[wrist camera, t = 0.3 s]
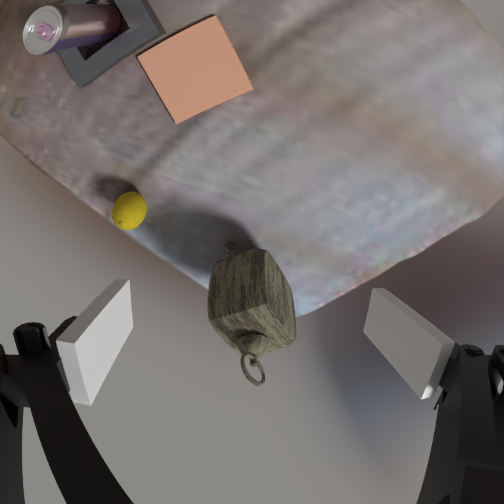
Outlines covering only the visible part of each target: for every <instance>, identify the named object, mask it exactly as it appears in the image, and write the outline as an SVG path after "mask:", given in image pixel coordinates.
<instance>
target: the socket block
mask: <svg viewBox="0 0 504 504" xmlns="http://www.w3.org/2000/svg"><path fill="white" fill-rule="evenodd" d="M99 1H100V0H65V1H64V2H63V3H62V4H64V3H70V4H96V3H97V2H99ZM114 1H115V3H116V5H117V7H118V8H119V10H120V12H121V13H122V15H123V17H124V19H125V20H126V22H127V24H128V25H129V27H130V29H128V30H127V31H125V32H124V33H122V34H121V35H119V36H118V37H116V38H115V39H114V40H112V41H111V42H109V43H108V44H107V45H105V46H104V47H103V48H101V49H100V50H99V51H97V52H96V53H95V54H93V55H92V53H91V51H90V50H89V48H88V46H87V45H83V46H79V47H74V48H69V49H65V50H61V51H58V53H59V55H60V57H61V58H62V60H63V62H64V64H65V65H66V67H67V69H68V70H69V72H70V74H71V75H72V77H73V79H74V81H75V82H76V84H77V86H78V87H79V89H80V88H82V87H84V86H87V85H89V84H90V83H92V82H93V81H94V80H95V79H97V78H98V77H99V76H101V75H102V74H103V73H105V72H106V71H107V70H109V69H110V68H112V67H113V66H114V65H116V64H117V63H119V62H120V61H122V60H123V59H125V58H126V57H128V56H129V55H131V54H132V53H134V52H135V51H137V50H138V49H140V48H142V47H143V46H145V45H147V44H148V43H150V42H152V41H153V40H155V39H157V38H158V37H160V36H162V35H164V34H165V33H166V32H165V30H164V28H163V27H162V25H161V23H160V22H159V20H158V18H157V16H156V15H155V13H154V11H153V9H152V8H151V6H150V4H149V3H148V1H147V0H114Z"/></svg>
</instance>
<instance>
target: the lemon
mask: <svg viewBox="0 0 504 504" xmlns="http://www.w3.org/2000/svg"><path fill="white" fill-rule="evenodd" d="M146 212H147V203H146V200H145V199H144V197H143V196H142V195H141V194H139V193H137V192H133V191H131V192H126V193H124V194H122V195H121V196H120V197H119V198H118V199H117V201H116V202H115V204H114V207H113V211H112V218H113V221H114V223H115V224H116V225H117V226H118V227H119V228H121V229H123V230H132V229H134V228H136V227H137V226H139V225H140V224H141V223H142V221H143V220H144V218H145V216H146Z"/></svg>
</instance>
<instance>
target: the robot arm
mask: <svg viewBox="0 0 504 504" xmlns="http://www.w3.org/2000/svg"><path fill="white" fill-rule="evenodd" d="M132 328H133V321H132V309H131V296H130V281H129V279H115V280H114V281H113V282H112V283H111V284H110V285H109V286H108V287H107V288H106V289H105V290H104V291H103V292H102V293H101V294H100V295H99V296H98V297H97V298H96V299H95V300H94V301H93V302H92V303H91V304H90V305H89V306H88V307H87V308H86V309H85V310H84V311H83V312H82V313H81V314H80V315H79V316H78V317H76V316H73V317H71V318H69V319H67V320H65V321H64V322H63V323H62V324H61V325H60V326H59V327H58V328H57V329H56V330H55V332H53V333H52V334H51V335H50V336H49V337H48V335H47V331H46V327H45V326H44V325H43V324H41V323H36V322H32V323H25V324H22V325H20V326H18V327H17V328H16V329H15V330H14V332H13V335H14V339H15V343H16V346H17V350H18V353H19V355H6V354H5V351H4V349H3V346H2V345H1V344H0V504H25V500H24V490H23V475H22V425H23V409H24V407H30V408H31V412H32V416H33V419H34V423H35V426H36V429H37V432H38V436H39V439H40V441H41V444H42V447H43V450H44V452H45V455H46V458H47V461H48V463H49V466H50V468H51V471H52V473H53V475H54V478H55V480H56V482H57V484H58V487H59V489H60V491H61V493H62V495H63V497H64V499H65V501H66V503H67V504H134V503H133V502H132V501H131V500H130V498H129V497H128V496H127V494H126V493H125V492H124V490H123V489H122V487H121V486H120V485H119V483H118V482H117V480H116V479H115V477H114V476H113V474H112V473H111V471H110V469H109V468H108V466H107V465H106V463H105V462H104V460H103V458H102V457H101V455H100V453H99V452H98V450H97V448H96V447H95V445H94V443H93V441H92V439H91V438H90V436H89V434H88V432H87V430H86V428H85V426H84V424H83V422H82V420H81V418H80V417H79V414H78V412H77V410H76V408H75V406H74V404H73V402H76V403H80V404H85V405H89V406H91V405H92V403H93V401H94V399H95V397H96V395H97V393H98V391H99V389H100V387H101V385H102V383H103V381H104V379H105V377H106V375H107V374H108V372H109V370H110V368H111V366H112V364H113V362H114V360H115V359H116V357H117V355H118V353H119V351H120V350H121V348H122V346H123V344H124V342H125V340H126V339H127V337H128V335H129V333H130V332H131V330H132ZM364 333H365V334H366V335H367V337H368V338H369V339H370V340H371V341H372V342H373V343H374V345H375V346H376V347H377V348H378V349H379V350H380V352H381V353H382V354H383V355H384V356H385V357H386V359H387V360H388V361H389V362H390V363H391V364H392V366H393V367H394V368H395V369H396V370H397V371H398V373H400V375H401V376H402V377H403V378H404V380H405V381H406V382H407V383H408V384H409V386H410V387H411V388H412V389H413V390H414V392H415V393H416V394H417V395H418V396H419V398H420V399H424V398H428V397H431V396H434V394H435V392H436V390H437V387H438V385H440V386H441V387H442V388H443V391H442V393H441V395H440V397H439V399H438V401H437V403H436V405H435V407H434V410H436V408H437V407H438V413H437V420H436V427H435V432H434V437H433V443H432V447H431V452H430V457H429V461H428V465H427V469H426V473H425V477H424V481H423V484H422V488H421V491H420V494H419V498H418V501H417V504H504V345H497V346H495V348H494V350H493V353H492V355H485V354H484V352H483V351H482V350H481V349H480V348H478V347H476V346H474V345H468V344H466V345H462V346H460V345H458V344H457V343H456V342H455V341H453V340H452V339H450V338H449V337H448V336H447V335H446V334H444V333H443V332H442V331H440V330H439V329H438V328H437V327H435V326H434V325H433V324H431V323H430V322H428V321H427V320H426V319H424V318H423V317H422V316H420V315H419V314H418V313H417V312H415V311H414V310H413V309H411V308H410V307H409V306H407V305H406V304H405V303H403V302H402V301H400V300H399V299H398V298H397V297H395V296H394V295H392V294H391V293H390V292H388V291H387V290H386V289H384V288H373V290H372V294H371V299H370V304H369V309H368V313H367V318H366V322H365V327H364ZM502 385H503V390H502V392H501V394H500V393H499V391H500V389H501V387H502ZM69 391H70V393H71V396H72V399H73V402H72V400H71V398H70V395H69V393H68V392H69Z"/></svg>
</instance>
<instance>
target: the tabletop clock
mask: <svg viewBox="0 0 504 504" xmlns="http://www.w3.org/2000/svg"><path fill="white" fill-rule="evenodd" d="M233 249H234V247H233V245H232V244H227V245H226V246H225V251H226V252H228V253H229V252H230V253H231V255H232V257H229V258H227V259H224V260H221V261H219V262H217V263H216V264H215V265H214V267H213V270H212V274H211V278H210V283H209V292H208V317H209V321H210V323H211V325H212V327H213V328H214V330H215V331H216V332H217V334H218V335H219V336H220V337H221V338H222V339H223V340H224V341H225V342H226V343H227V344H228V345H229V346H230V347H231V348H233V349H234V350H235V351H237V352H238V353H239V354H241V355H242V356H241V367H242V370H243V372H244V375H245V376H246V378H247V379H248V380H249V381H250V382H251V383H253V384H254V385H256V386H262V384H263V383H264V382H265V374H264V370H263V367H262V366H261V364H260V362H259V361H258V360H257V358H260V357H262V356H264V355H265V354H266V353H268V352H272V351H276V350H280V349H284V348H287V347H289V346H290V345H291V344H292V342H294V340H295V339H296V319H295V309H294V301H293V295H292V290H291V288H290V285H289V283H288V281H287V280H286V278H285V276H284V275H283V273H282V271H281V270H280V268H279V266H278V265H277V263H276V262H275V260H274V259H273V257H272V256H271V254H270V253H269V252H268V251H267V250H263V249H257V248H253V249H250V250H247V251H245V252H242V253H240V254H237V255H236V254H235V253H234V252H233ZM245 357H248V358H249V359H250V365H251V366H252V367H255V366H256V365H257V367H258V368H259V369H260V371H261V373H262V380H261V381H260V382H258V381H256V380H255V379H254V378H253V377H252V376H251V375H250V374H249V373H248V371H247V369H246V367H245V364H244V358H245Z"/></svg>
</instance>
